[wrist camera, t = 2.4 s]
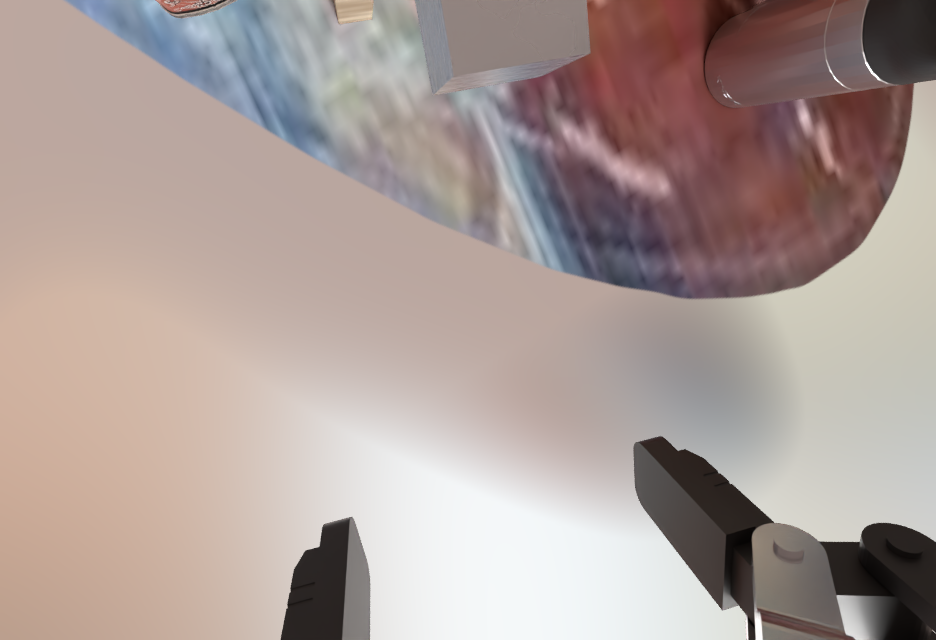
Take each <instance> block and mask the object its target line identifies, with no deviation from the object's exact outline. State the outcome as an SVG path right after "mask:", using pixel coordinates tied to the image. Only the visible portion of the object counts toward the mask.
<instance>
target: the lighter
mask: <svg viewBox="0 0 936 640" xmlns="http://www.w3.org/2000/svg"><path fill="white" fill-rule="evenodd" d="M156 1H157V2H158V3H159V4H160V6H161V7H162V8H163V9H164V10H165V11H166V12H168V13H169V14H170V15H171V16H174V17H176V18H188V17H194V16H200V15H204V14H207V13H210V12H213V11H216V10H220V9H221V8H223V7H225V6H227V5H229V4H231V3H233V2H235V1H237V0H156Z"/></svg>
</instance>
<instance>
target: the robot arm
mask: <svg viewBox="0 0 936 640" xmlns="http://www.w3.org/2000/svg"><path fill="white" fill-rule="evenodd" d="M705 78H706V83H707V86H708V88H709V91H710V92H711V94H712V96H713V97H714V98H715V99H716V100H717V101H718V102H719V103H721V104H722V105H724V106H727V107H731V108H741V107H748V106H755V105H762V104H770V103H777V102H784V101H791V100H798V99H805V98H812V97H819V96H826V95H833V94H840V93H847V92H854V91H861V90H868V89H875V88H882V87H889V86H896V85H904V84H911V83H917V82H923V81H931V80H936V0H766V1H764V2H761V3H759V4H756V5H755V6H754V7H753V8H752V9H751V10H749V11H746V12H744V13H741V14H738V15H736V16H734V17H732V18H730V19H729V20H728V21H726V22H725V23H724V24H723V25H722V26H721V27H720V28H719V29H718V31H717V32H716V33H715V35H714V37H713V39H712V40H711V42H710V45H709V48H708V50H707V54H706V59H705ZM634 473H635V488H636V492H637V496H638V499H639V501H640V503H641V505H642V506H643V508H644V509H645V511H646V512H647V513H648V515H649V516H650V517H651V518H652V520H653V521H654V522H655V523H656V525H657V526H658V527H659V529H660V530H661V531H662V532H663V534H664V535H665V537H666V538H667V539H668V541H669V542H670V543H671V544H672V545H673V547H674V548H675V550H676V551H677V552H678V553H679V555H680V556H681V557H682V559H683V560H684V561H685V562H686V564H687V565H688V566H689V568H690V569H691V570H692V572H693V573H694V574H695V575H696V577H697V578H698V579H699V581H700V582H701V583H702V585H703V586H704V587H705V588H706V590H707V591H708V592H709V594H710V595H711V596H712V598H713V599H714V600H715V601H716V603H717V604H718V605H719V607H720V608H721V609H722V610H726V609H729V608H732V607H735V606H738V605H739V606H740V608H741V609H742V610H743V611H744V612H745V614H746V637H747V638H746V639H747V640H936V634H935V633H934V632H933V631H935V632H936V542H934V541H933V540H932V539H930V538H928V537H927V536H925V535H923V534H921V533H920V532H917V531H915V530H913V529H910V528H907V527H904V526H901V525H897V524H891V523H876V524H871V525H869V526H867V527H865V528H864V530H863V531H862V534H861V539H860V542H819V541H817V540H816V539H815V538H814V537H813V536H811V535H810V534H809V533H806V532H805V531H803V530H801V529H799V528H797V527H794V526H791V525H786V524H780V523H774V522H773V521H772V520H771V519H770V518H769V517H768V516H766V515H765V514H764V513H763V512H762V511H761V510H760V509H759V508H758V507H756V505H754V504H753V503H752V502H751V501H750V500H749V499H748V498H747V497H745V496H744V495H743V494H742V493H741V492H740V491H739V490H738V489H737V488H736V487H734V486H733V485H732V484H730V483H729V481H728V480H727V479H726V478H725V477H724V476H723V475H721V474H719V473H718V471H717V470H716V469H715V468H714V467H713V466H712V465H710V464H709V463H708V462H707V461H706V460H705V459H704V458H702V457H700V456H698V455H696V454H694V453H691V452H690V451H688V450H686V449H684V450H680V451H677V450H676V449H675V448H674V447H673V446H672V445H671V444H670V443H669V442H668V441H667V440H666V439H665V438H663V437H655V438H651V439H648V440H644V441H640V442H636V443H635V444H634ZM287 605H288V609H286V615H285V620H284V625H283V630H282V635H281V640H370V576H369V569H368V563H367V559H366V556H365V553H364V550H363V546H362V543H361V540H360V537H359V534H358V531H357V527H356V524H355V521H354V519H353V518H352V517H349V518H346V519H342V520H338V521H334V522H330V523H327V524H324V525H323V527H322V534H321V542H320V547H318V548H314V549H310V550H306V551H305V552H304V554H303V556H302V557H301V559H300V561H299V562H298V564H297V566H296V567H295V569H294V573H293V578H292V583H291V592H290V594H289V599H288V604H287ZM932 630H933V631H932Z"/></svg>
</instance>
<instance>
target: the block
mask: <svg viewBox="0 0 936 640" xmlns="http://www.w3.org/2000/svg"><path fill="white" fill-rule="evenodd" d="M415 2H416V8H417V13H418V18H419V24H420V29H421V35H422V40H423V45H424V51H425V56H426V62H427V67H428V72H429V78H430V83H431V89H432V94H433V95H438V94H444V93H450V92H456V91H461V90H467V89H473V88H479V87H484V86H490V85H496V84H502V83H507V82H513V81H519V80H524V79H530V78H536V77H541V76H543V75H545V74H547V73H549V72H551V71H554V70H556V69H558V68H560V67H562V66H564V65H566V64H568V63H571V62H573V61H575V60H577V59H579V58H581V57H583V56H586V55H588V54H590V41H589V28H588V14H587V1H586V0H415Z"/></svg>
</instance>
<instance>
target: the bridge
mask: <svg viewBox="0 0 936 640" xmlns="http://www.w3.org/2000/svg"><path fill="white" fill-rule="evenodd" d="M333 1H334V5H335V10H336V14H337V18H338V22H339V24H344V23H351V22H358V21H364V20H371V19H372V13H373V0H333Z"/></svg>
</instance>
